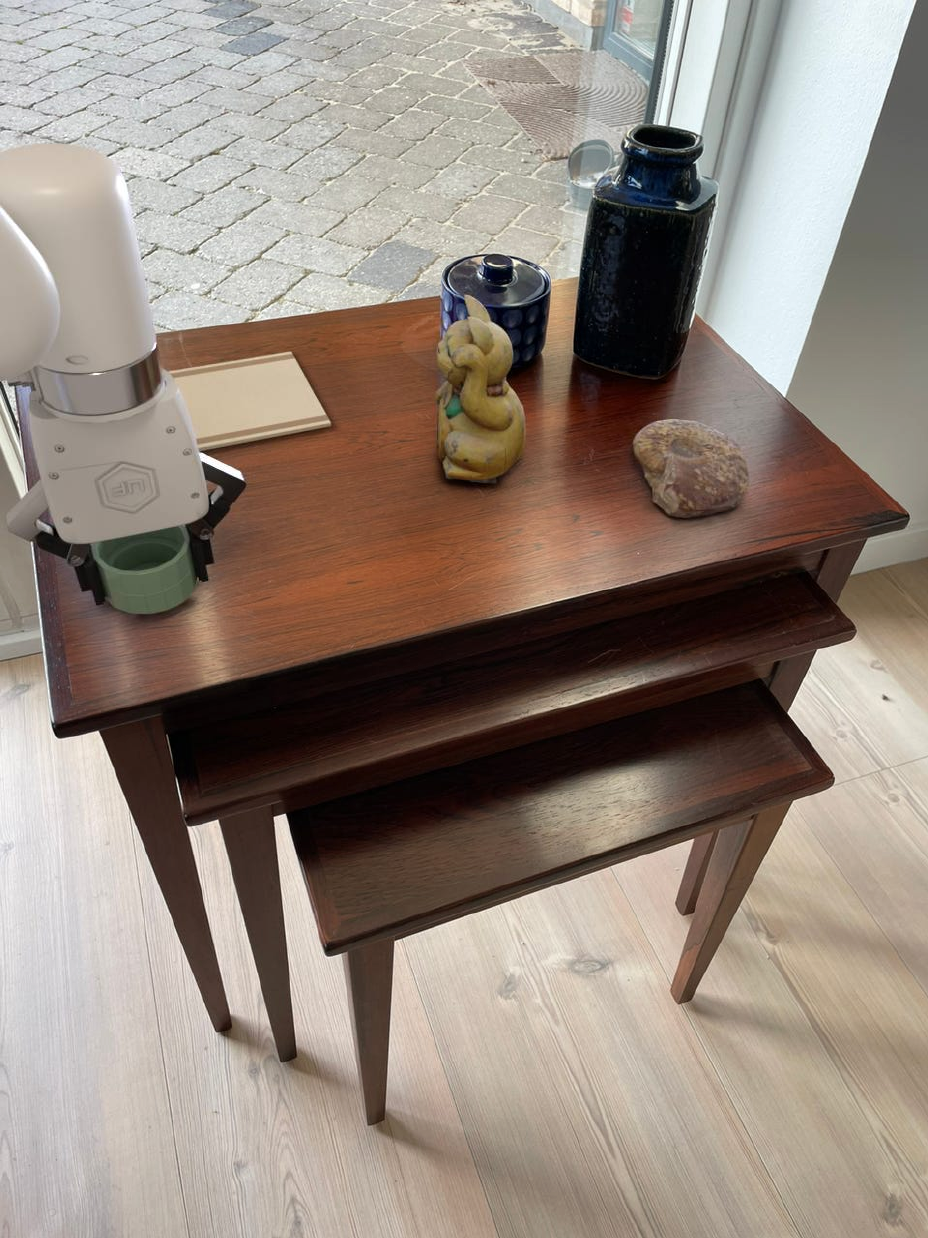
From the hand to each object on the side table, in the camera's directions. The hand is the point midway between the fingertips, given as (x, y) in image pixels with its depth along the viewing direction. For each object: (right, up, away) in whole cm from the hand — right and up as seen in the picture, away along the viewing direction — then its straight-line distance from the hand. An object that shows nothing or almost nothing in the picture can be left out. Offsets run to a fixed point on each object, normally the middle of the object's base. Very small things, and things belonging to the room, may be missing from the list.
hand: (150, 580), depth 68 cm
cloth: (+2, +18, +20) cm, 27 cm away
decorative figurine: (+25, +11, +15) cm, 31 cm away
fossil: (+44, +10, +15) cm, 48 cm away
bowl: (0, -1, +1) cm, 1 cm away
